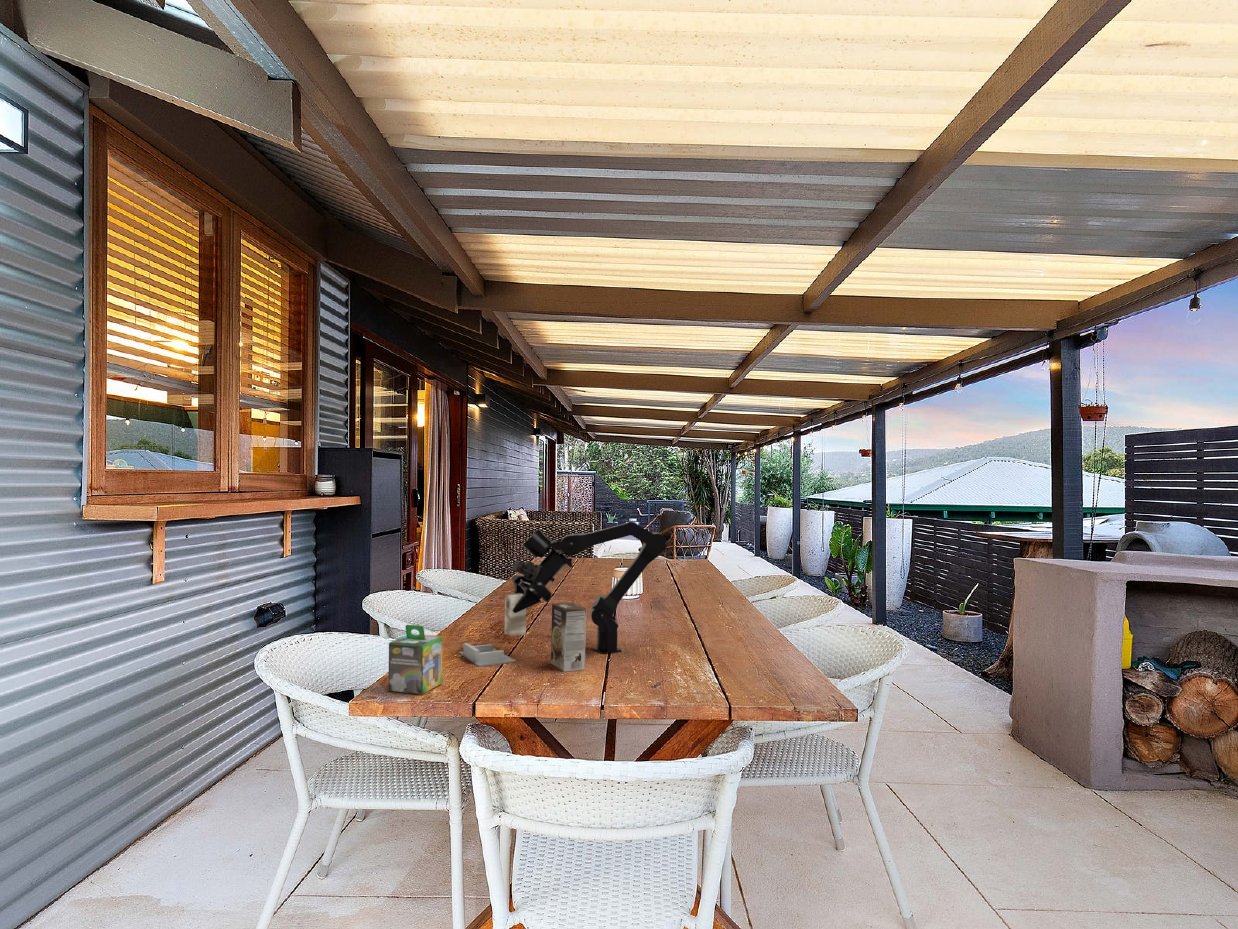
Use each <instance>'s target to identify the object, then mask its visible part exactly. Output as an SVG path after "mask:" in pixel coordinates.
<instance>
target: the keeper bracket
mask: <svg viewBox="0 0 1238 929" xmlns="http://www.w3.org/2000/svg"><path fill="white" fill-rule="evenodd" d="M462 650H463V651H459V654H460V655H461V656H463V657H464V658H465V659H467V660H469V661H470V662H471V663H473V664H474V665H476V666H477V667H479V668H482V667H489V666H496V665H498V666H499V665H505V664H511V663H516V660H515V659H513V658H512V657H509V656H508V655H507V654H505V650H503V649H501V650H498V649H496V648H494V643H493V644H492V643H487V644H480V645H479V644H478V645H472V644H470V643H469V642H464V643H463V649H462Z"/></svg>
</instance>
